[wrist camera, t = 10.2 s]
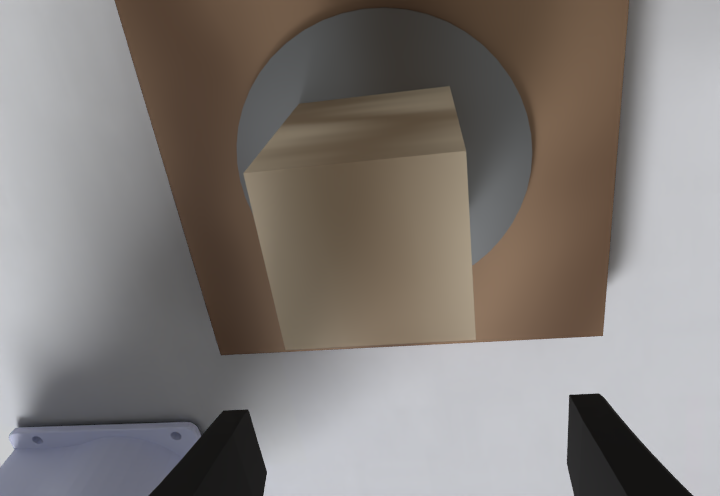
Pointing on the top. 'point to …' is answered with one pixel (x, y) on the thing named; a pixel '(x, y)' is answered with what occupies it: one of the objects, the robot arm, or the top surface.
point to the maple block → (367, 221)
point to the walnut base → (389, 75)
